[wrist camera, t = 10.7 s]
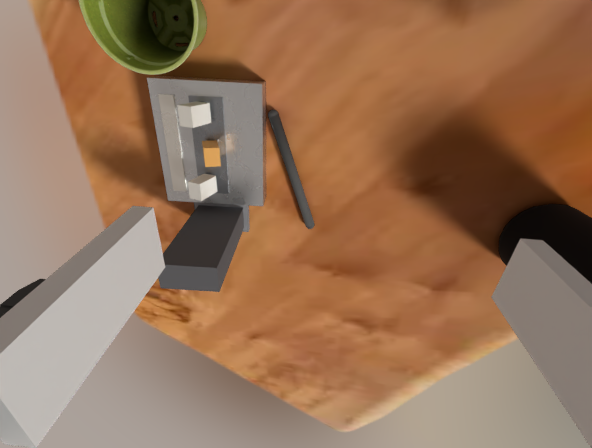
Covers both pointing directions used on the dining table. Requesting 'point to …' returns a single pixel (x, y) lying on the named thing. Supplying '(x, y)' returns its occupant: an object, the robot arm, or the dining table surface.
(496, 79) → the dining table surface
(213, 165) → the tan cardboard carton
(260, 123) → the breaker panel
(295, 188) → the dark grey thin rod
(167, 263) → the dark grey rectangular block
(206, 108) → the cream colored chunky brick
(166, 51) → the plant pot
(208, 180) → the matte cream brick
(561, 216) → the coffee jar
